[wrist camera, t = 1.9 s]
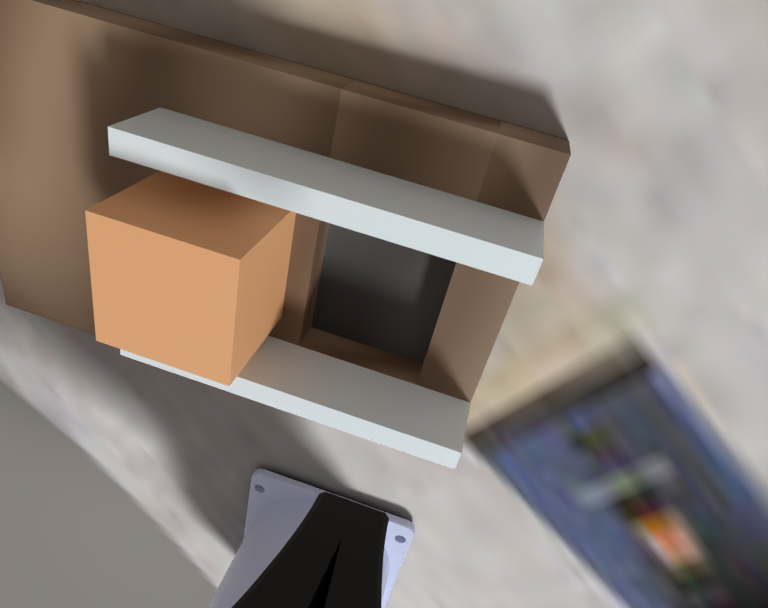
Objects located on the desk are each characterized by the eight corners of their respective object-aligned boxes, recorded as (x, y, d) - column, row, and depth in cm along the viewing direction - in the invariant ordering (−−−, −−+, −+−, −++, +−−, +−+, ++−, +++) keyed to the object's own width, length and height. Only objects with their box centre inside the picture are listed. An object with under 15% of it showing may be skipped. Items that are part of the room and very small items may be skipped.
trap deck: (568, 140, 16) (570, 154, 15) (454, 428, 23) (448, 455, 22) (-14, -26, 18) (-56, -25, 17) (33, 287, 25) (6, 304, 23)
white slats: (543, 221, 16) (543, 259, 14) (463, 418, 21) (454, 469, 18) (160, 107, 17) (107, 126, 15) (161, 317, 22) (120, 354, 20)
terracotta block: (281, 317, 20) (229, 386, 17) (168, 280, 21) (96, 340, 17) (297, 205, 18) (239, 259, 15) (169, 165, 18) (84, 210, 15)
